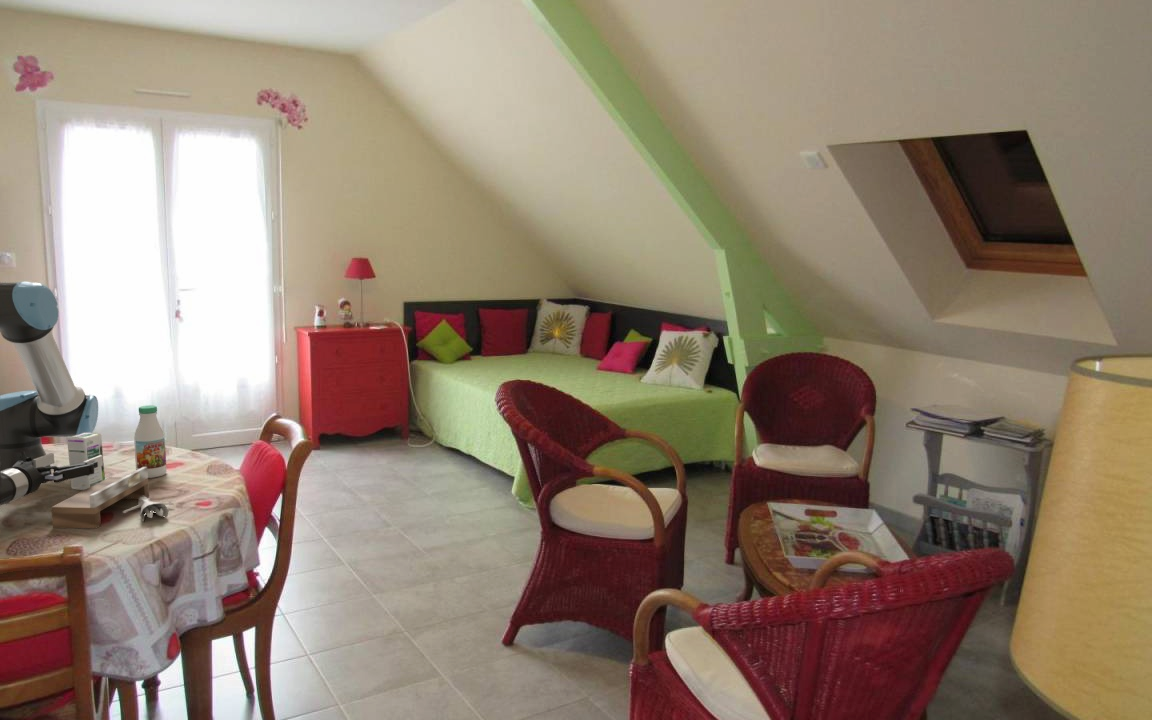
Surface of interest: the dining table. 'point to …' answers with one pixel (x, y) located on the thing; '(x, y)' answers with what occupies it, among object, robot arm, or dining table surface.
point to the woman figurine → (150, 507)
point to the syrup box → (85, 458)
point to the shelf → (98, 500)
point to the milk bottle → (150, 443)
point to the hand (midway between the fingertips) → (77, 459)
